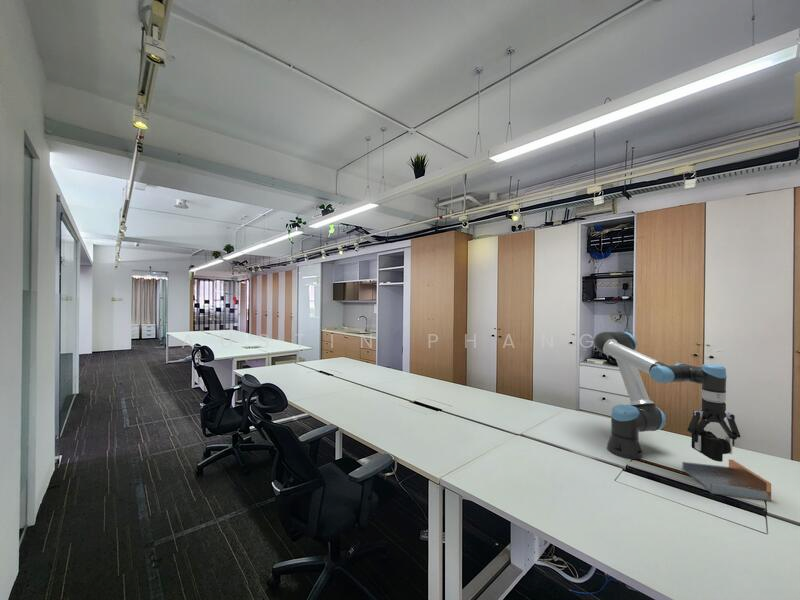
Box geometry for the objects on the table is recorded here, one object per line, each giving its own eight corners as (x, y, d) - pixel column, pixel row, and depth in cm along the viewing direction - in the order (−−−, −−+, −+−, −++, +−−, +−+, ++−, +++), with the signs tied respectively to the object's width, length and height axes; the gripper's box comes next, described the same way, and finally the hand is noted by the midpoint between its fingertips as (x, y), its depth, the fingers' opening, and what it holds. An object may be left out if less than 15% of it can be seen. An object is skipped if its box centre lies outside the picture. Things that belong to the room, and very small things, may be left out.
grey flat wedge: (712, 493, 131) (712, 476, 131) (682, 469, 149) (682, 454, 149) (771, 501, 126) (771, 483, 126) (732, 475, 145) (732, 459, 145)
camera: (742, 464, 130) (742, 439, 130) (712, 461, 132) (712, 437, 132) (715, 448, 144) (715, 426, 144) (688, 446, 146) (688, 424, 146)
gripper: (688, 400, 138) (687, 451, 138) (753, 405, 132) (752, 458, 132) (677, 395, 145) (676, 444, 145) (738, 400, 140) (738, 450, 140)
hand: (713, 451), depth 139 cm, fingers closed on camera, 10 cm apart
